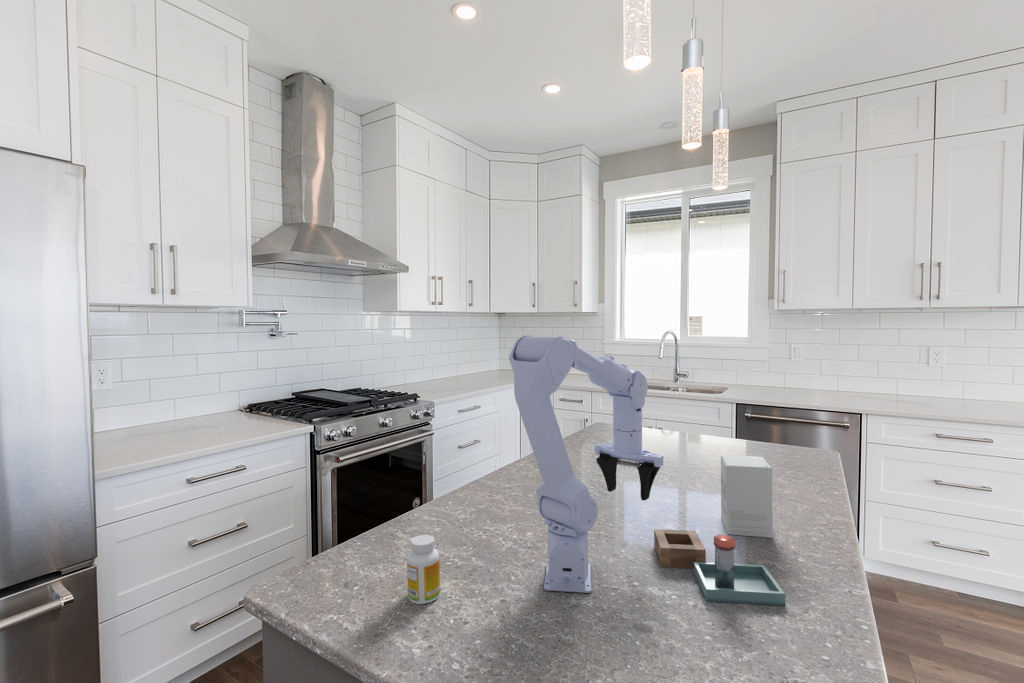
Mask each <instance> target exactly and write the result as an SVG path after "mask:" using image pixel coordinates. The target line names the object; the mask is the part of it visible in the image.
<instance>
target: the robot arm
mask: <svg viewBox="0 0 1024 683" xmlns="http://www.w3.org/2000/svg"><path fill="white" fill-rule="evenodd" d="M508 360H509V363H510V366H511V369H512V373H513V378H514V379H513V383H514V384H513V386H514V387H513V388H514V389H513V390H514V392H513V393H514V398H515V399H514V400H515V403H516V404H517V408H518V411H519V414H520V416H521V419H522V423H523V426H524V428H525V431H526V432H525V433H526V434H527V437H528V440H529V444H530V446H531V450H532V453H533V454H534V457H535V461H536V463H537V464H536V465H537V467H538V470H539V472H540V476H541V479H542V480H541V481H540V483H539V484H538V486H537V487H536V489H535V491H536V493H537V494H536V495H537V499H538V500H537V508H538V509H537V510H538V513H539V515H540V516H541V517H542V518H543V519H544V525H545V526H546V527H547V561H546V562H547V563H546V569H545V577H544V585H543V589H544V590H545V591H553V592H569V593H584V594H585V593H587V594H590V593H591V592H592V576H591V572H592V571H591V563H590V562H589V531H591V530H592V528H593V527H594V526H595V524H596V522H597V518H598V514H599V511H598V510H599V509H598V504H597V500H596V499H595V498H594V497H593V496H592V495H591V494H590V490H589V488H588V487H587V486H586V484H584V483H583V482H582V481H581V480H580V479H579V478H577V476H575V474H574V470H573V468H572V467H573V466H572V465H571V461H570V458H569V455H568V451H567V449H566V448H567V447H566V445H565V442H564V439H563V435H562V433H561V429H560V426H559V422H558V421H557V420H558V419H557V416H556V412H555V410H554V406H553V404H552V400H551V395H552V394H553V393H555V392H557V391H558V389H559V387H560V386H561V384H562V383H563V382H564V380H565V379H566V377H567V375H568V374H569V373H570V371H571V369H572V368H573V369H575V370H577V371H580V372H583V373H585V374H587V375H588V378H589V381H590V382H591V383H592V384H593V385H596V386H598V387H600V388H602V389H604V390H606V392H607V394H608V395H609V397H612V420H613V421H612V426H613V427H612V428H613V430H612V431H613V432H612V436H613V437H612V438H613V439H612V440H613V442H612V443H613V444H605V443H598V444H595V445H594V453H595V454H594V455H596V456H598V455H599V457H597V458H596V463H597V465H598V466H599V469H600V470H601V472H602V475H603V478H604V481H605V484H606V485H605V486H606V488H607V491H608V492H610V493H611V492H613V491H615V490H616V488H617V469H618V463H619V459H618V458H622V459H621V460H625V459H626V460H625V461H630V460H631V461H630V462H635V461H636V462H635V463H638V462H641V463H643V465H638V466H637V472H638V476H639V482H640V500H641V501H647V500H648V499H650V495H651V490H652V486H653V484H654V481H655V478H656V476H657V474H658V472H659V471H660V468H661V467H662V466H664V455H662V454H658V453H655V452H651V451H649V450H647V449H643V412H642V411H643V408H644V407H645V399H646V396H647V392H648V390H649V383H648V382H647V381H648V380H647V378H646V376H645V375H644V374H643V373H642V372H641V371H639V370H630V369H629V368H628V365H626V364H622V363H618V362H617V361H615V357H614V356H612V355H604V356H599V357H596V356H594V355H593V354H591V353H590V352H588V351H587V350H586V349H584V348H583V347H581V346H579V345H578V344H577V341H576V340H573V339H569V337H567V336H564V335H557V336H531V335H522V336H520V337H519V338H518V339H516V341H515V342H514V344H513V347H512V349H511V351H510V354H509V356H508Z"/></svg>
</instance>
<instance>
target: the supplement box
mask: <svg viewBox="0 0 1024 683" xmlns="http://www.w3.org/2000/svg"><path fill="white" fill-rule="evenodd" d="M773 514H774V513H773V468H772V466H771V465H769V463H768V462H767V461H766V459H765V458H764V457H763V456H755V455H754V456H751V455H750V456H748V455H727V454H721V455H720V518H721V521H722V524H723V527H724V529H725V531H726V534H727V535H731V536H732V535H733V536H734V535H735V536H744V537H756V538H767V539H773V538H774V533H773V531H774V530H773V529H774V528H773V527H774V526H773V524H774V523H773V520H774V519H773V518H774V517H773Z"/></svg>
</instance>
